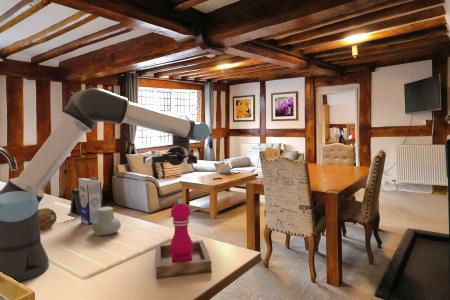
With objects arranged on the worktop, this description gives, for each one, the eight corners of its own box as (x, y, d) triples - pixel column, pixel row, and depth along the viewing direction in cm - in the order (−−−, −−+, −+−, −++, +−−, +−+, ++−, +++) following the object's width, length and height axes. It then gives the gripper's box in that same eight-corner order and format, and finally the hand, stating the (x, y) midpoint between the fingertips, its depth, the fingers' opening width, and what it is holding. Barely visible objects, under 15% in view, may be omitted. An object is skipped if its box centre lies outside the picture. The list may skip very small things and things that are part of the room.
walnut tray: (156, 278, 91) (156, 267, 90) (155, 254, 106) (155, 244, 106) (211, 272, 94) (211, 261, 94) (203, 249, 110) (203, 240, 109)
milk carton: (80, 222, 139) (78, 177, 136) (95, 218, 144) (93, 175, 141) (88, 225, 134) (86, 179, 132) (103, 221, 139) (101, 177, 137)
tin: (14, 234, 125) (12, 214, 124) (14, 232, 127) (12, 212, 126) (57, 226, 134) (55, 207, 133) (56, 224, 136) (54, 205, 135)
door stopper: (70, 212, 153) (68, 188, 152) (82, 209, 158) (80, 185, 156) (79, 215, 148) (78, 190, 146) (91, 212, 152) (90, 188, 151)
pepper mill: (171, 267, 96) (169, 203, 93) (169, 257, 102) (167, 196, 100) (195, 264, 98) (193, 200, 95) (191, 254, 104) (189, 195, 102)
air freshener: (89, 233, 126) (87, 209, 125) (106, 227, 133) (105, 204, 131) (106, 239, 120) (105, 213, 119) (124, 232, 127) (123, 208, 125)
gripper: (207, 164, 131) (201, 173, 110) (147, 164, 132) (130, 173, 111) (206, 146, 130) (200, 152, 109) (147, 146, 131) (129, 152, 110)
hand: (165, 163), depth 110 cm, fingers open, 13 cm apart
